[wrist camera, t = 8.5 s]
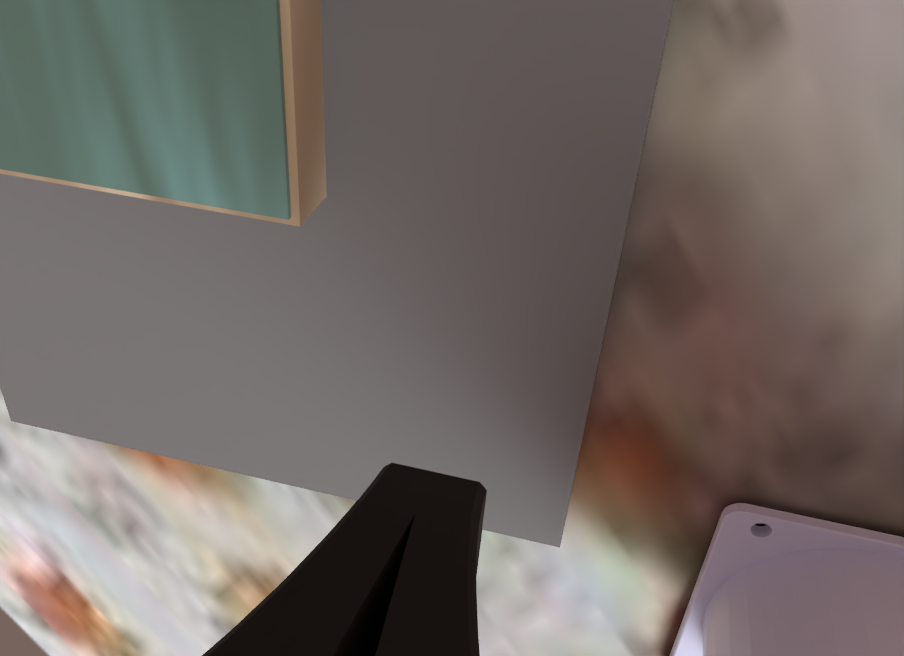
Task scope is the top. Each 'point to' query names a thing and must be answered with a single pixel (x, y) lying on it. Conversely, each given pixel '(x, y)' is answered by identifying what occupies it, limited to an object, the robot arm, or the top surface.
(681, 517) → the top surface
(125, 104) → the brown framed teal panel
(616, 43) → the rubber mat
